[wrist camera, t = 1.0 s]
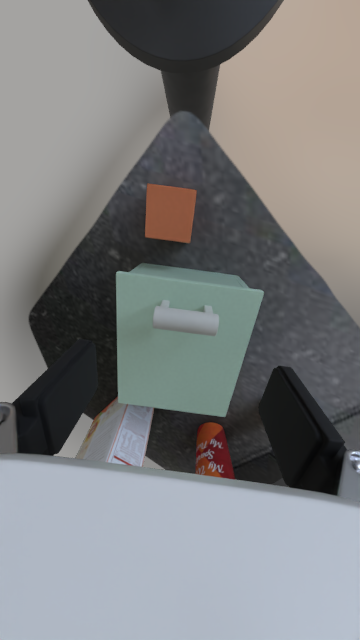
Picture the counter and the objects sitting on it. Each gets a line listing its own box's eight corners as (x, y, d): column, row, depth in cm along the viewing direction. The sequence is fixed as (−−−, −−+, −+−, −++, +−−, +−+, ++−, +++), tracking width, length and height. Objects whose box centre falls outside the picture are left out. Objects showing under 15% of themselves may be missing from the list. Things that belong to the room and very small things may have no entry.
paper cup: (212, 413, 40) (221, 500, 27) (236, 432, 42) (256, 522, 29) (184, 430, 42) (180, 517, 30) (208, 448, 44) (215, 536, 32)
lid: (118, 270, 19) (94, 285, 14) (261, 289, 19) (284, 310, 14) (120, 398, 26) (104, 435, 21) (224, 411, 26) (231, 452, 21)
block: (155, 191, 24) (147, 183, 20) (196, 196, 24) (196, 189, 20) (152, 235, 26) (144, 237, 22) (190, 240, 26) (189, 243, 22)
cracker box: (118, 429, 43) (60, 586, 25) (94, 415, 42) (14, 570, 23) (159, 396, 39) (127, 559, 20) (134, 379, 37) (74, 537, 18)
